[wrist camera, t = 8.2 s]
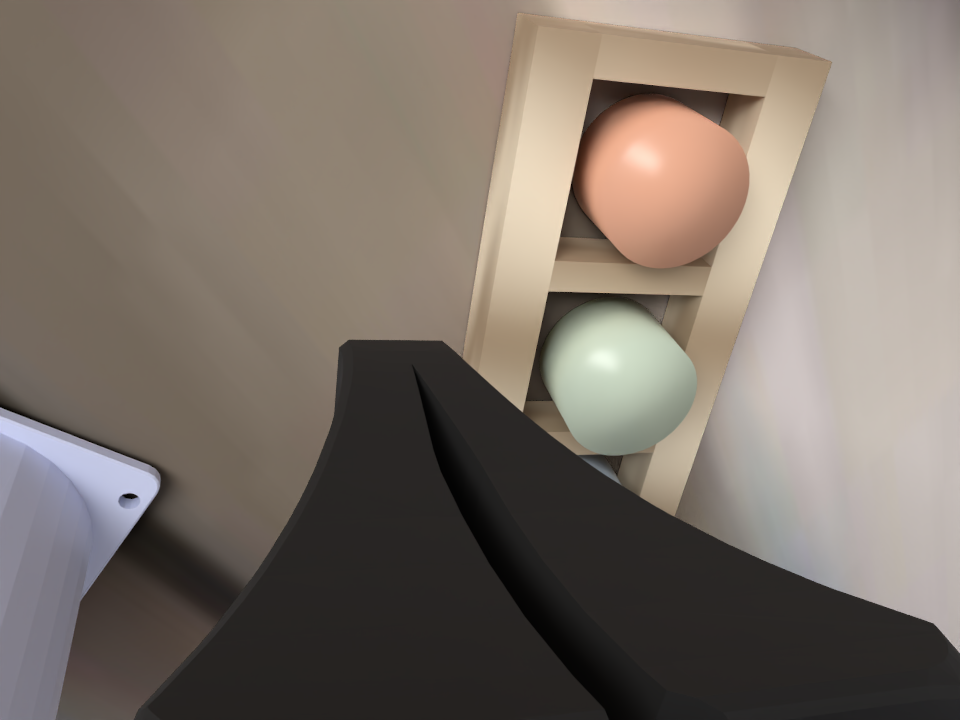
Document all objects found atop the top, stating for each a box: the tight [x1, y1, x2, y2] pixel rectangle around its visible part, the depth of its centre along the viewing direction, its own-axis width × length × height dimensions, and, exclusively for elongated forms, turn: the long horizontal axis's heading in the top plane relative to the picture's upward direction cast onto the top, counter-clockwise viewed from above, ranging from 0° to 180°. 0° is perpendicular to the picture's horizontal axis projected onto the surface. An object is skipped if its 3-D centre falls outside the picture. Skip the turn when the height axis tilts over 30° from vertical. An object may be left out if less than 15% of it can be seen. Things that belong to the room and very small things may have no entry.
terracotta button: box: [572, 94, 750, 268], centre depth 19 cm, size 3×3×2 cm
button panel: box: [462, 13, 832, 517], centre depth 22 cm, size 16×7×2 cm, turn 171°
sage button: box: [539, 297, 697, 456], centre depth 21 cm, size 3×3×2 cm
